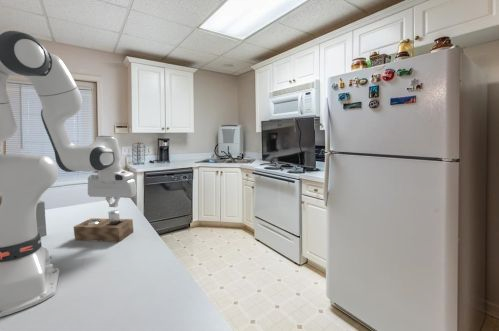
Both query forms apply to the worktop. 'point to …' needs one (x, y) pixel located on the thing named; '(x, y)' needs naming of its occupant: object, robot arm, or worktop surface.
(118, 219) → the steel peg
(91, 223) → the steel peg
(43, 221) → the skincare box
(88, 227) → the walnut block
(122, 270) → the worktop surface
